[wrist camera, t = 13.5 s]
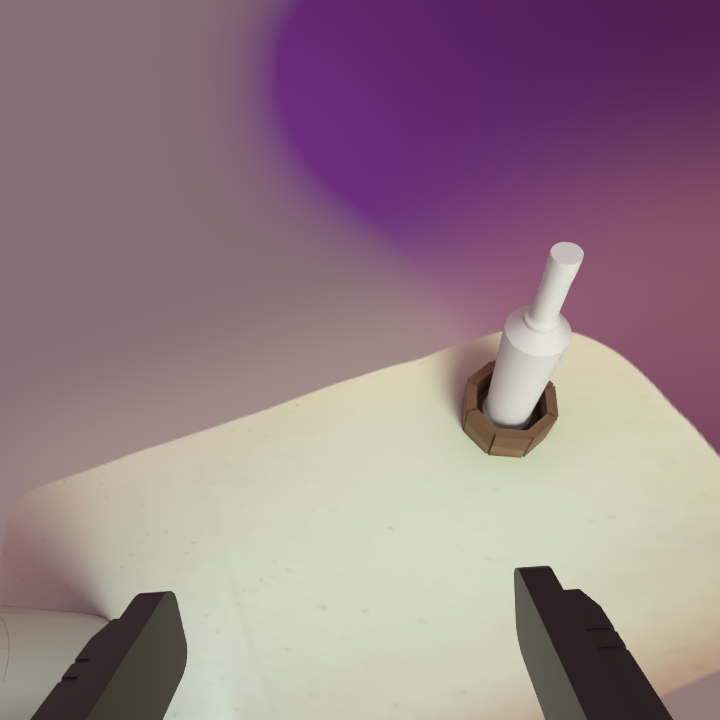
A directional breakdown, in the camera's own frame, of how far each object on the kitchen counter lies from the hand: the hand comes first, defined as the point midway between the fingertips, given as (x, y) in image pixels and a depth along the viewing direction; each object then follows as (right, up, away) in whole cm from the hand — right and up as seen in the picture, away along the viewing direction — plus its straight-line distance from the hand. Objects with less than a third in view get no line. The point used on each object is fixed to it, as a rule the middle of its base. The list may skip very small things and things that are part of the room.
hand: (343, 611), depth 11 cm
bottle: (+16, -1, +40) cm, 43 cm away
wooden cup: (+17, -1, +41) cm, 44 cm away
